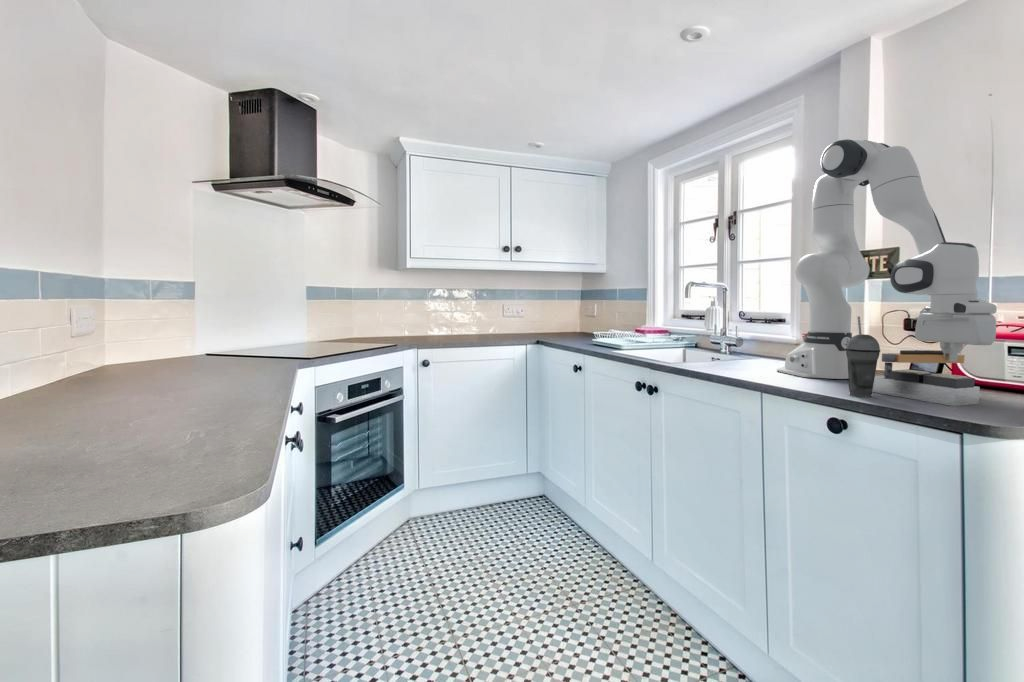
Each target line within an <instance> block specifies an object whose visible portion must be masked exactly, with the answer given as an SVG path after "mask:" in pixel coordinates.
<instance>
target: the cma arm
mask: <svg viewBox="0 0 1024 682" xmlns="http://www.w3.org/2000/svg"><path fill="white" fill-rule="evenodd" d="M881 362H883V363H885V362H889V363H899V364H900V363H902V364H903V363H904V364H907V363H908V364H913V363H914V364H915V363H916V364H926V363H927V364H965V354H964V355H963V354H958V360H957V361H945V360H944V353H943V352H942V350H922V349H921V350H917V349H916V350H915V349H914V350H911V349H910V350H909V349H907V350H906V349H905V350H903V349H902V350H900V351H899V352H898V353H897V352H895V353H893V352H891V353H890V352H889V353H888V352H885V353H881Z"/></svg>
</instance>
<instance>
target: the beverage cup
mask: <svg viewBox="0 0 1024 682" xmlns="http://www.w3.org/2000/svg"><path fill="white" fill-rule="evenodd" d="M857 323H858V324H857V327H858V334H856V335H854V336H852V338H851V339H850V340H849V341H848V343H847V346H846V349H845V350H846V355H847V358H848V391H849V396H852V397H858V398H871V397H872V394H873V392H872V391H873V384H874V378H875V376H876V371H877V367H878V366H877V365H878V364H877V363H878V360H879V359H880V358H879V357H880V353H881V352H882V351H881V347H880V344H879V342H878V340H877V339H876V338H875V337H874V336H872V335H870V334H862V324H861V317H860V316H857Z"/></svg>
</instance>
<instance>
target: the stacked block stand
mask: <svg viewBox="0 0 1024 682" xmlns="http://www.w3.org/2000/svg"><path fill="white" fill-rule="evenodd" d="M883 371H884V372H883V374H884V375H875V378H874V384H873V391H872V393H877V394H882V395H888V396H895V397H898V398H899V397H900V398H906V399H911V400H916V401H923V402H929V403H934V404H941V405H947V406H951V407H959V406H960V407H961V406H968V405H969V406H970V405H971V406H972V405H979V402H980V388H981V387H980V386H975V381H976V379H975V378H974V377H968V376H966V375H964V376H963V375H956V374H950V373H949V374H947V373H934V372H930V371H924V370H917V369H908V368H907V369H896V370H893V362H884V370H883Z"/></svg>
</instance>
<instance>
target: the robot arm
mask: <svg viewBox="0 0 1024 682" xmlns="http://www.w3.org/2000/svg"><path fill="white" fill-rule="evenodd" d="M819 161H820V169H821V171H822V172H823V173H824V174H823V175H821V176H820V177H819V178H818V179H816V182H815V185H814V187H813V188H814V189H813V193H812V201H811V235H812V237H813V239H814V240H815V241H816V242H817V243H818V245H819V249H820V251H819V252H814V253H809V254H806V255H804V256H803V257H801V258H800V259H799V260H798V261H797V263H796V266H795V269H794V271H795V272H794V273H795V277H796V279H797V281H798V282H799V283H800V284H801V285H802V287H803V289H804V291H805V293H806V297H807V299H808V305H809V307H808V308H809V330H808V331H807V333H801V335H802V336H801V338H804V339H803V343H801V344H800V345H799V346H797V347H796V348H795V349H793V350H792V351H790V352H789V353H787V355H786V356H785V360H784V367H778V368H776V372H778V371H779V373H783V374H788V375H793V376H797V377H803V378H817V379H834V380H835V379H837V380H847V379H848V358H847V355H846V350H845V349H846V346H847V343H848V341H849V340H850V339H851V338H852V337H853V332H852V331H851V327H852V307H851V305H850V303H849V302H848V301H847V299H846V297H845V295H844V290H843V289H848V288H853V287H856V286H859V285H861V284H863V283H864V282H865V281H866V280H867V279H868V277H869V275H870V269H871V268H870V265H869V262H868V261H867V260H866V259H865V258H864V257H863V255H862V253H861V251H860V247H859V244H858V242H857V238H856V234H855V233H856V232H855V222H854V221H855V218H854V217H855V216H854V214H855V211H854V207H855V206H854V203H855V202H854V193H855V189H856V188H857V187H858V186H860V187H866V186H868V185H869V189H870V193H871V198H872V201H873V205H874V206H875V209H876V211H877V212H878V213H879V215H880V216H882V217H883V218H884V219H887V220H890V221H891V222H893V223H895V224H898V225H899V226H901V227H903V228H904V229H905V230H907V231H908V232H909V234H910V235H911V236H912V238H913V241H914V245H915V247H916V250H917V252H918V255H916V256H913V257H910V258H908V259H902V260H900V261H898V262H897V263H896V264H895V265H894V266H893V268H892V269H891V272H890V277H889V278H890V279H889V281H890V284H891V286H892V288H893V289H894V290H896V292H899V293H901V294H902V293H903V294H905V295H917V296H918V295H919V296H921V295H924V296H926V295H927V296H930V306H923V307H924V308H922V309H921V310H920V311H919V315H918V316H917V320H916V323H915V330H914V337H915V340H916V341H920V342H921V341H922V342H930V343H931V342H934V343H939V348H940V349H941V350H940V351H942V352H943V353H944V360H945V361H957V360H958V355H960V352H961V351H962V349H963V348H964V347H963V346H964V345H970V346H992V345H993V343H994V342H995V341H996V336H997V319H996V317H995V316H994V314H996V313H997V310H998V309H997V308H998V307H997V305H996V304H994V303H991V302H989V301H986V300H983V299H981V298H978V295H979V293H978V290H977V281H978V279H979V275H980V259H979V258H980V257H979V253H978V252H979V251H978V249H977V247H976V246H975V245H973V244H972V243H968V242H967V243H966V242H952V241H951V242H949V241H947V240H946V238H945V235H944V232H943V230H942V227H941V224H940V221H939V220H938V217H937V215H936V213H935V210H934V209H933V207H932V205H931V203H930V201H929V199H928V197H927V194H926V192H925V188H924V185H923V182H922V178H921V174H920V171H919V168H918V166H917V163H916V161H915V159H914V156H913V154H912V153H911V151H910V150H909V149H908V148H906V147H905V146H902V145H901V146H900V145H893V146H890V145H888V144H886V143H883V142H876V141H871V140H867V139H866V140H865V139H864V140H860V139H858V140H857V139H856V140H854V139H849V138H847V139H840V140H836V141H833V142H832V143H830V144H829V145H827V147H826V148H825V149H824V150H823V152H822V155H821V156H820V160H819ZM848 380H849V379H848Z"/></svg>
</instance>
